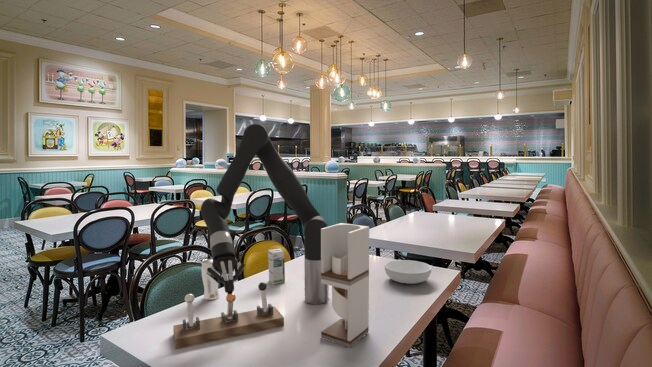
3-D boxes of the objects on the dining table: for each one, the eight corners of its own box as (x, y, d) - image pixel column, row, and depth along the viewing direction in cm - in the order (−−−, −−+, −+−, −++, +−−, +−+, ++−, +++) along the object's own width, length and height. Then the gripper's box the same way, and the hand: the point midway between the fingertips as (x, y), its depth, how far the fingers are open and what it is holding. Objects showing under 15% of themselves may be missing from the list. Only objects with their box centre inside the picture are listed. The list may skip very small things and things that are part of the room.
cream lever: (196, 326, 122) (193, 292, 124) (197, 327, 119) (194, 292, 121) (186, 328, 120) (183, 294, 122) (186, 329, 118) (184, 294, 120)
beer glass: (215, 301, 149) (214, 264, 148) (199, 300, 151) (197, 263, 149) (223, 294, 156) (222, 259, 155) (207, 293, 158) (206, 258, 156)
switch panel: (274, 314, 137) (274, 298, 137) (284, 325, 128) (283, 309, 128) (173, 334, 123) (172, 317, 122) (176, 349, 114) (175, 330, 113)
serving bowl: (437, 278, 176) (437, 263, 175) (422, 292, 158) (422, 276, 158) (394, 270, 187) (394, 257, 186) (376, 283, 169) (376, 268, 169)
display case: (341, 324, 129) (341, 222, 126) (368, 332, 123) (369, 226, 120) (321, 337, 120) (320, 228, 117) (350, 347, 114) (350, 233, 111)
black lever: (268, 312, 132) (265, 281, 134) (270, 313, 129) (267, 281, 131) (260, 314, 131) (256, 282, 133) (262, 314, 128) (259, 282, 130)
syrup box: (272, 284, 168) (272, 252, 167) (268, 280, 173) (268, 249, 172) (285, 282, 170) (284, 250, 169) (280, 278, 176) (279, 247, 174)
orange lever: (233, 315, 127) (234, 290, 123) (235, 322, 125) (236, 296, 121) (224, 317, 126) (225, 291, 122) (225, 323, 124) (227, 297, 120)
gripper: (203, 243, 127) (210, 290, 117) (242, 239, 133) (252, 283, 123) (201, 255, 132) (208, 301, 122) (239, 250, 138) (248, 294, 128)
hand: (230, 292), depth 123 cm, fingers closed
